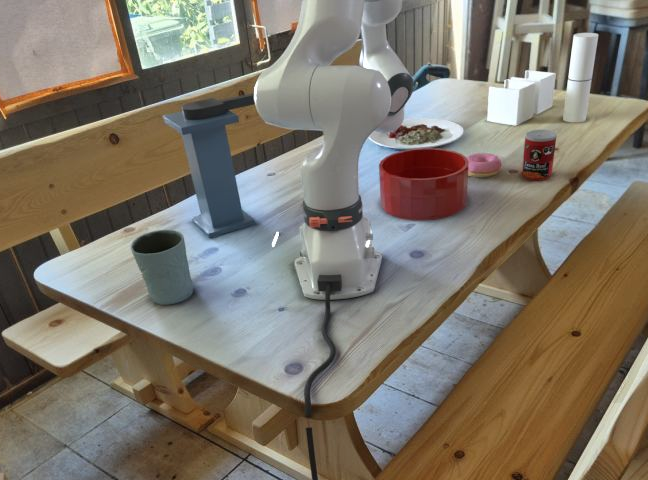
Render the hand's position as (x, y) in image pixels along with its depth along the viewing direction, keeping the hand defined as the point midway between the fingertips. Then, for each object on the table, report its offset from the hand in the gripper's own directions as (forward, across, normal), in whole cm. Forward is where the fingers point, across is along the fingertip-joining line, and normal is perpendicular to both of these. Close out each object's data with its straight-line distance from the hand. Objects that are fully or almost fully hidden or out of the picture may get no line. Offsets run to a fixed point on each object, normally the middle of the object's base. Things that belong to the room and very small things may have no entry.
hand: (304, 86), depth 143 cm
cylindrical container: (-98, +4, -19) cm, 100 cm away
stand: (+11, 0, +36) cm, 38 cm away
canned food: (-58, +30, +1) cm, 65 cm away
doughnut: (-50, +18, +5) cm, 53 cm away
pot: (-28, +24, +16) cm, 40 cm away
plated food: (-55, -18, +3) cm, 58 cm away
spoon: (+19, 0, +11) cm, 22 cm away
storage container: (-92, -13, -16) cm, 94 cm away
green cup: (+31, +26, +46) cm, 61 cm away
